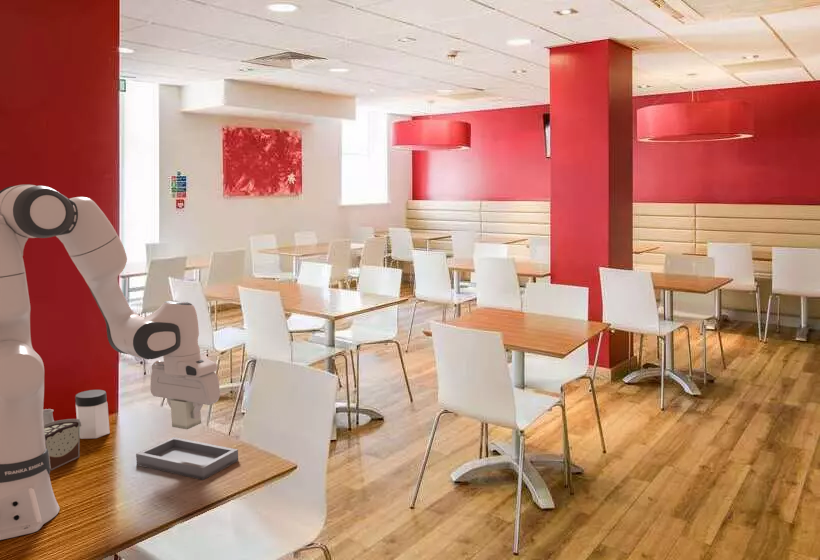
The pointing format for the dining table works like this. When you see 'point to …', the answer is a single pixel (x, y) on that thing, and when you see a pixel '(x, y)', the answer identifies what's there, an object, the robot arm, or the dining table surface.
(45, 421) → the flask
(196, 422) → the cup
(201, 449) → the tray
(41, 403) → the robot arm
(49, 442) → the food container
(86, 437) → the jar
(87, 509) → the dining table surface
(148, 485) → the dining table surface
